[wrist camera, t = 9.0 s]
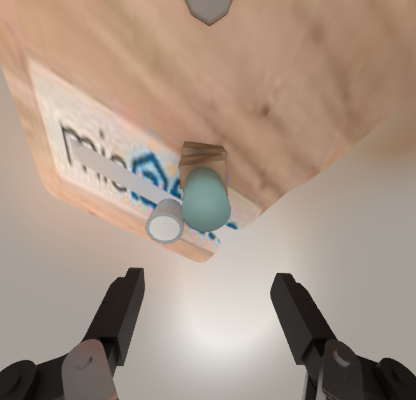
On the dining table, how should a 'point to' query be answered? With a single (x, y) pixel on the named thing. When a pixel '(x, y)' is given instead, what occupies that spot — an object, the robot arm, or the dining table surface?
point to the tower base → (200, 150)
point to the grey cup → (165, 222)
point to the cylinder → (205, 201)
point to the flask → (209, 9)
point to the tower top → (203, 165)
